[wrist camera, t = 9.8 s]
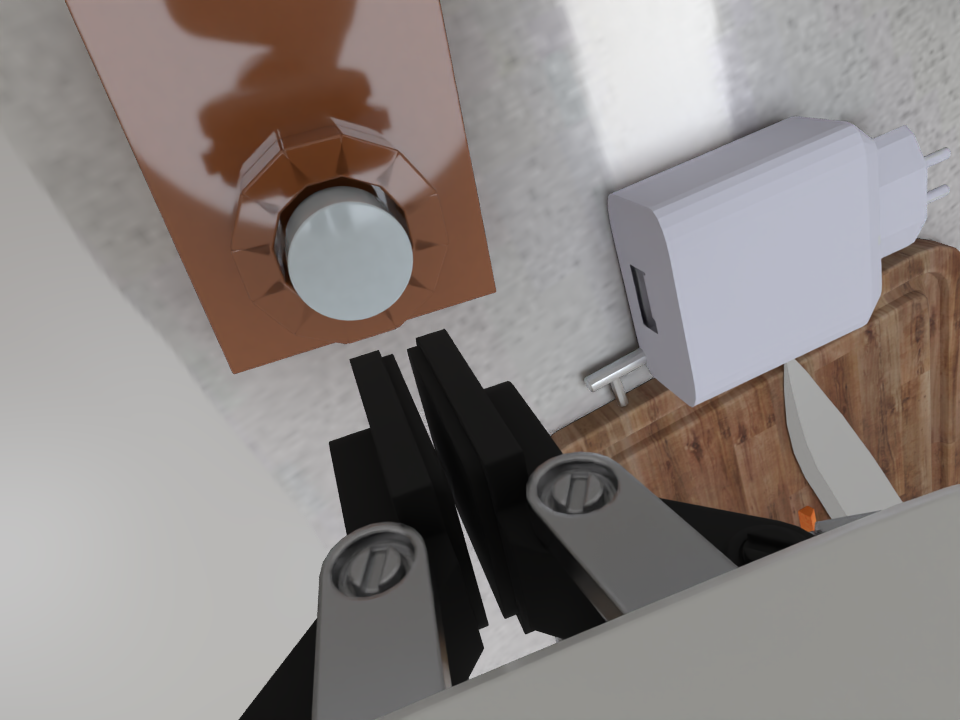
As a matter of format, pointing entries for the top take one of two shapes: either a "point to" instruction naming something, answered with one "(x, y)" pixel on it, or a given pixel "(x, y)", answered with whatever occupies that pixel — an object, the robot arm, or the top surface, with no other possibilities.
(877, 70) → the top surface
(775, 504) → the chopping board
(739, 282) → the charger
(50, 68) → the top surface
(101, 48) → the brown base with collar
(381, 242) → the round grey push button
